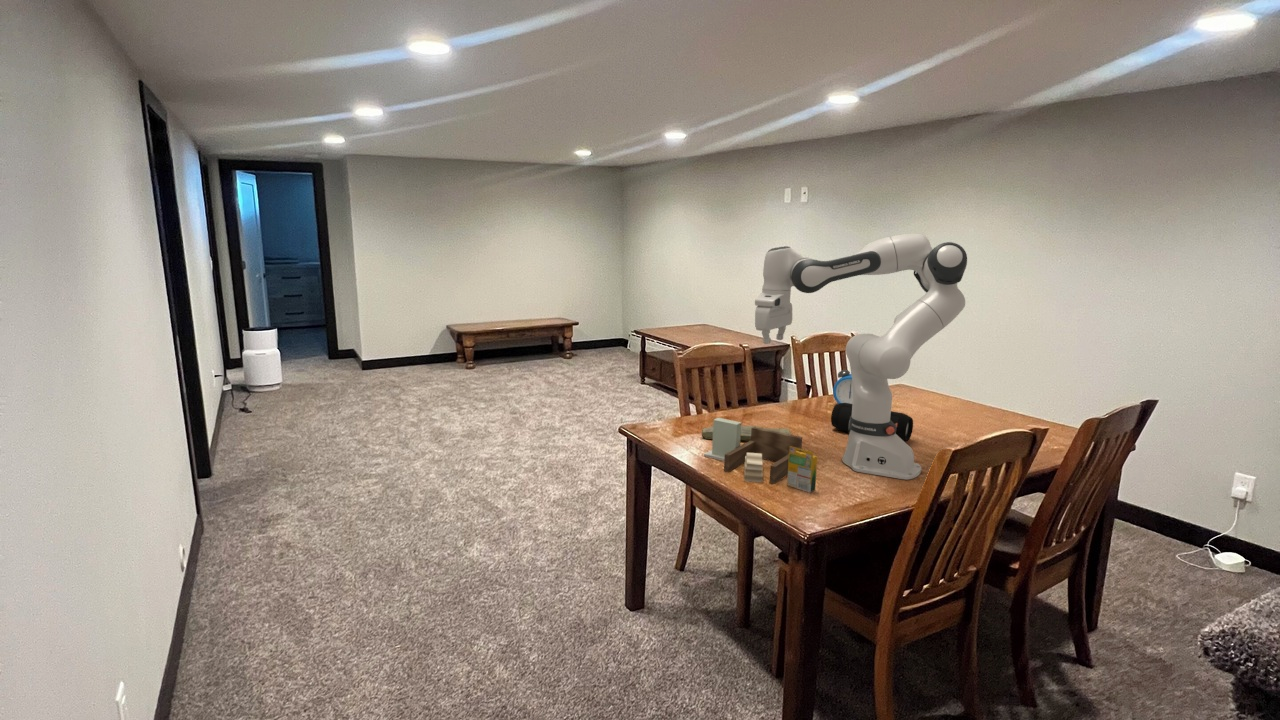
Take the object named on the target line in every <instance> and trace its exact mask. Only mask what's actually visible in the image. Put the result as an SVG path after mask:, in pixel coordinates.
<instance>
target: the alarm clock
mask: <svg viewBox="0 0 1280 720" xmlns="http://www.w3.org/2000/svg"><path fill="white" fill-rule="evenodd" d="M837 377H838V380H836V382H835V383H834V386H833V388H832V391H833V392H832V394H833V398H834V400H835V401H836V404H839V403H850V404H852V403H853V383H852V376H851V371H849V370H848V369H841V370H840V371H839V372H838V373H837Z"/></svg>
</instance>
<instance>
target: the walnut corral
mask: <svg viewBox="0 0 1280 720" xmlns="http://www.w3.org/2000/svg"><path fill="white" fill-rule="evenodd" d="M756 427H757V426H756ZM756 427H753V428H751V441H746V442H745V443H743V444H740V446H739V447H738V448H736V449H734V450H732V451H730V452H728V453H726V454H725V458H724V461H723V471H724V472H728V473H730V471H733V470H734V469H736V468H737V467H739V466H741V465H742V464H745V456H746V455H747V453H761V454H762V460H767V461H771V462H774V463H772V464H771V465H770V466H769V483H770V484H773V485H774V484H776V483H778V482H779V481H780V480H782V479H783V478H785V477H787V475H788V461H789V448H790V446H792V447H796V448H800V449H803V448H802V447H803V437H802V436H798V435H793V434H791V435H789V434H785V433H780V432H775V431H771V430H766V429H761V428H756ZM796 451H799V450H796ZM799 452H802V451H801V450H800V451H799Z"/></svg>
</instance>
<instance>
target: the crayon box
mask: <svg viewBox="0 0 1280 720" xmlns="http://www.w3.org/2000/svg"><path fill="white" fill-rule="evenodd" d="M796 450H799V451H800V450H801V452H799V451H796ZM817 469H818V456H817V455H814V452H813V451H810V450H808V449H804V448H802V449H800V448H796V447H792V446H790V448H789V461H788V475H786V477H787V479H786V487H791V488H793V489H794V488H795V489H798V490H801V491H804V492H807V493H809V494H811V493H812V492H813V491H815V490H816V482H817V481H816V480H817Z"/></svg>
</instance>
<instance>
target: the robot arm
mask: <svg viewBox="0 0 1280 720" xmlns="http://www.w3.org/2000/svg"><path fill="white" fill-rule="evenodd" d="M967 255H968V254H967V251H966V250H965V248H964V247H963V246H961V245H960V244H958V243H956V242H952V241H949V242H948V241H947V242H942V243H940V244H937V245H936V246H935V247H932V245H931V242H930V240H929V238H928V237H927V236H926V235H925V234H922V233H917V232H916V233H903V234H897V235H891V236H887V237H883V238H878V239H876V240H873V241H871V242H868V243H866V245H864V246H863V247H862V249H860V250H859V251H857V252H856V253H853V254H851V255H846V256H842V257H838V258H835V259H829V260H818V259H813V258H810V257H809V256H806V255H803V254H801V253H799V252H797V251H796V250H794V249H793V248H792V247H791V246H778V247H774V248H770V249H769V250H768V251H766V253H765V256H764V261H763V267H762V268H763V269H762V272H763V273H762V276H763V285H762V288H761V289H762V290H761V293H760V294H759V295H758V296H757V297H756V298H755V299H754V305H755V306H756V307H755V310H754V311H755V312H754V325H755V329H756V330H757V331H761V334H762V338H763V344H764V345H769V344H771V340H772V339H771V337H770V333H771V330H772V331H773V330H775V329H778V331H777V333H776V340H777V341H783V339H784V334H785V332H786V329H787V326H789V325H790V326H791V325H792V323H793V304H792V303H791V292H792V287H795V289H797V290H798V291H799V292H800V293H804V294H812V293H816V292H818V291H819V290H821V289H823V288H824V287H825V286H827V285H829V284H831V283H832V282H835V281H836V282H837V281H841V280H846V279H849V278H852V277H857V276H879V275H881V276H882V275H888V274H895V273H899V272H902V271H903V272H904V271H913V276H914V277H915V278H916V280H917V282H918V283H919V286H920V287H921V288H922V290H923V291H924V292H925V294H924V295H923V296H921V297H919V298H918V299H916V301H915V302H913V303H912V304H911V305H909V306H908V307H906V308H905V309H904V310H902V311H901V312H900V313H898V315H896V317H895V318H894V320H893V324H892V326H891V327H890V328H889V330H888V331H887V332H886V333H885V334H883V335H881V336H878V335H875V334H873V333H859V334H855V335H853V336H852V337H851V338H849V340H848V341H847V343H846V345H845V354H846V356H847V359H848V362H849V367H850V374H851V376H852V383H853V403H852V416H850V420H849V432H848V440H847V444H846V448H845V451H844V454H843V456H842V459H841V461H842V463H844V465H847V466H848V467H850V468H851V470H852V471H853V472H856V473H857V472H858V473H862V474H863V473H864V474H868V475H874V476H883V477H888V478H894V479H900V480H912V479H916V478H917V477H918V476H919V475H920V474H921V473H922V466H921V465H920V463H917V462H915V455H914V451H913V449H912V447H911V446H910V445H909V444H908V443H907V442H904V441H903V440H902V439H901V438H900V437H899V436H898V435H897V434H896V427H897V423H896V424H894V423H893V422H892V421H891V420H890V416H891V411H892V404H893V393H892V391H891V388H890V386H889V381H888V380H897V379H899V378H901V377H903V376H904V375H906V373H908V371H909V369H910V365H911V359H912V358H913V357H914V355H915V354H916V353H917V351H918V350H919V349H920V348H921V347H922V346H923V345H924V344H925V343H927V342H928V341H929V340H930V339H932V338H933V337H934V336H936V335H937V334H939V333H940V332H941V331H942V330H944V329H945V328H946V327H947V326H948V325H949V324H951V323H952V322H953V321H954V320H955V319H956V318H957V317H958V315H960V314H961V312H962V311H963V310H964V308H965V306H966V297H965V295H964V293H963V292H962V291H961V290H960V289H959V287H958V284H959V283H960V282H961V281H962V279H963V277H964V273H965V271H966V269H967V265H968V256H967Z"/></svg>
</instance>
